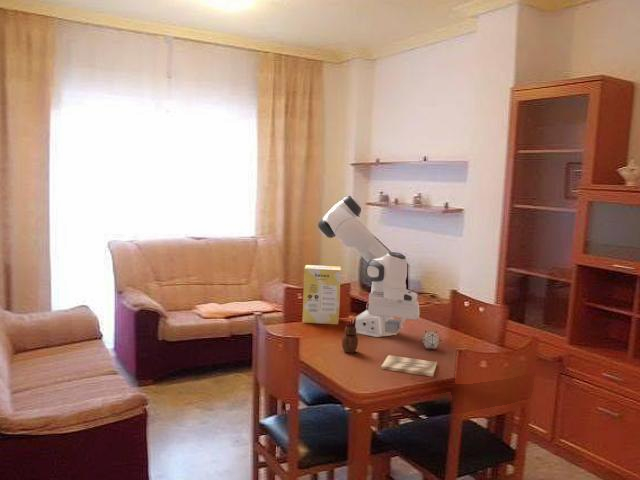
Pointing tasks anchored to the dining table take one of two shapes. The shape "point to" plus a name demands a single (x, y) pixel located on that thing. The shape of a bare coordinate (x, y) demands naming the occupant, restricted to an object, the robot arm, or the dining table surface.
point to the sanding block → (392, 326)
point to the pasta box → (321, 294)
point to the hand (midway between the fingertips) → (392, 327)
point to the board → (409, 365)
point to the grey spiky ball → (431, 340)
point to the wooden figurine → (350, 338)
